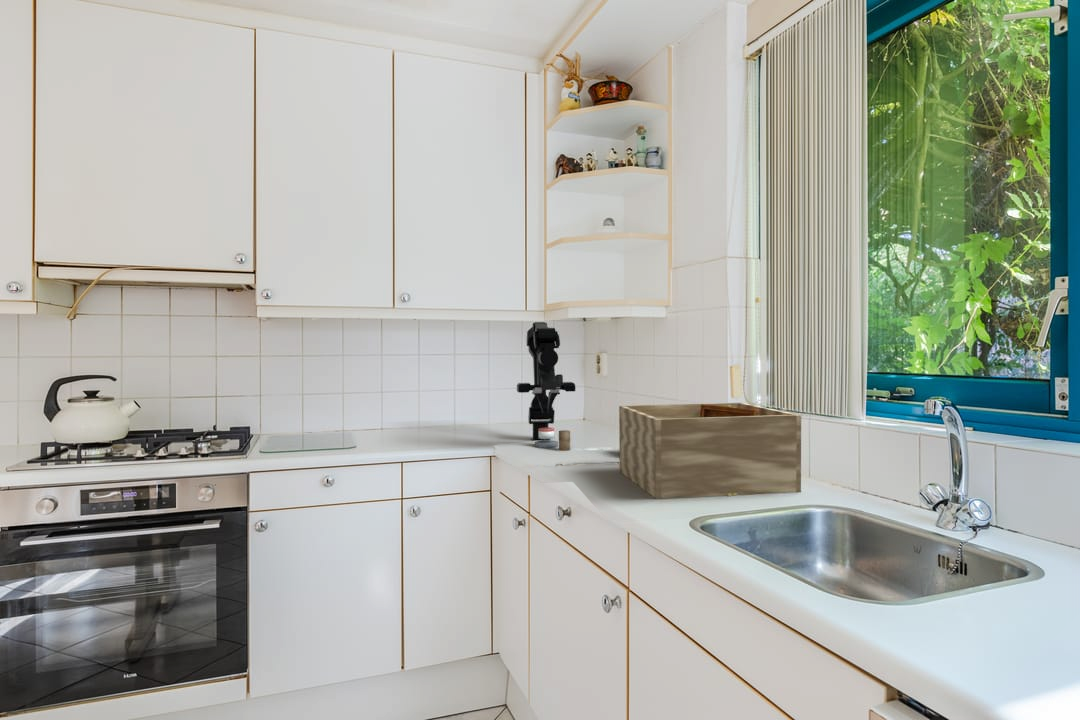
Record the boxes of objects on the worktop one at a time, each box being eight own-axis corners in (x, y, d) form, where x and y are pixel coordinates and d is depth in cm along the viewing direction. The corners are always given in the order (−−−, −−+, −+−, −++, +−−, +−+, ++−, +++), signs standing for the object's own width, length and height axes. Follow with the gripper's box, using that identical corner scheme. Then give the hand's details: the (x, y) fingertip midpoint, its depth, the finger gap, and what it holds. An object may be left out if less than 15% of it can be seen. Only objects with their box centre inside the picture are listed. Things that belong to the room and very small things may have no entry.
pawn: (557, 449, 194) (557, 430, 194) (569, 448, 195) (568, 430, 195) (560, 451, 191) (559, 432, 190) (571, 450, 191) (571, 431, 191)
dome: (537, 436, 202) (537, 427, 202) (552, 436, 203) (552, 427, 203) (539, 439, 197) (539, 430, 197) (555, 438, 198) (555, 429, 198)
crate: (619, 471, 166) (619, 405, 166) (741, 466, 172) (741, 402, 171) (656, 499, 137) (655, 419, 137) (800, 491, 143) (801, 415, 142)
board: (532, 448, 203) (532, 440, 203) (602, 445, 207) (602, 438, 207) (539, 456, 189) (539, 448, 188) (614, 453, 192) (614, 445, 192)
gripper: (520, 367, 190) (520, 417, 190) (578, 366, 193) (579, 415, 193) (516, 366, 201) (516, 413, 201) (571, 365, 204) (572, 411, 204)
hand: (546, 413), depth 200 cm, fingers closed
